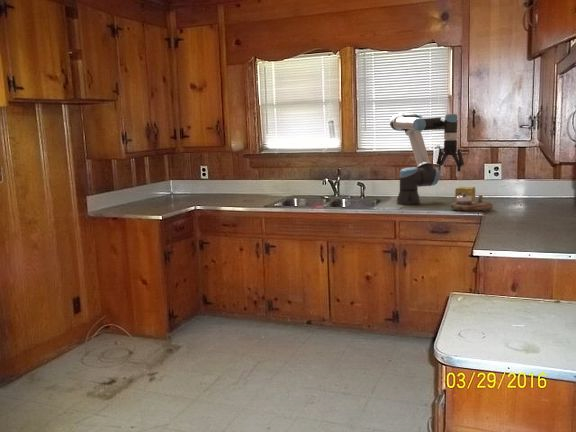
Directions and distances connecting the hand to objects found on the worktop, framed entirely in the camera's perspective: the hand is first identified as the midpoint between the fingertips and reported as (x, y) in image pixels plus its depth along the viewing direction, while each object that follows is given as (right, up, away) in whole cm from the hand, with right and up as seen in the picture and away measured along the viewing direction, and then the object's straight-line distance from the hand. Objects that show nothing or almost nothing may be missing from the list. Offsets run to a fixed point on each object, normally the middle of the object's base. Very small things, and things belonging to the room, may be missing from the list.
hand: (449, 176), depth 339 cm
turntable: (+11, -19, -7) cm, 23 cm away
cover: (+7, -17, -4) cm, 19 cm away
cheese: (+16, -16, +21) cm, 31 cm away
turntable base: (+11, -21, -7) cm, 25 cm away
